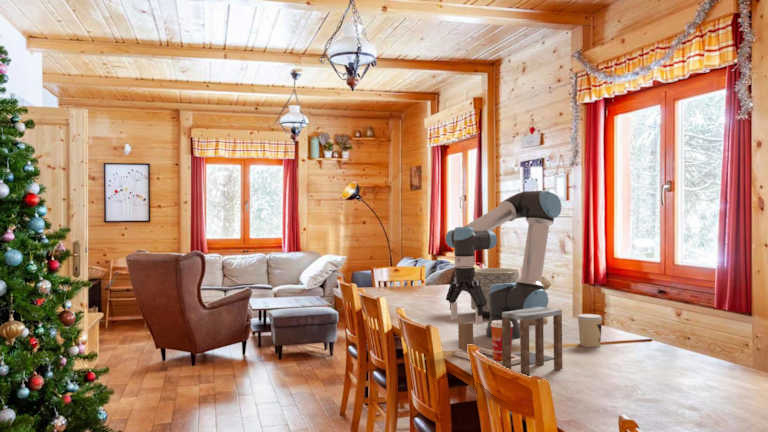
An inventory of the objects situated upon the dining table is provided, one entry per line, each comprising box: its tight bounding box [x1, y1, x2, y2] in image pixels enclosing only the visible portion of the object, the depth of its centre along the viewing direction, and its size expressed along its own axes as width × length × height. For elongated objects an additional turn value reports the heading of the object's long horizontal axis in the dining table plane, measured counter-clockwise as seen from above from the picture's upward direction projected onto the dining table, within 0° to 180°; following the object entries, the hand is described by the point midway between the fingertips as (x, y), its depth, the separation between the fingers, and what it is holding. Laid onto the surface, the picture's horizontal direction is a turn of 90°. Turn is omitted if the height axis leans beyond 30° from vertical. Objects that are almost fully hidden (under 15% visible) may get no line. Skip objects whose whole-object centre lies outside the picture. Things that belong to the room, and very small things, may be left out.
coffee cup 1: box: [490, 320, 513, 362], centre depth 215 cm, size 8×8×15 cm
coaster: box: [513, 351, 554, 366], centre depth 222 cm, size 13×13×1 cm
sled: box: [452, 321, 521, 366], centre depth 222 cm, size 25×12×12 cm, turn 36°
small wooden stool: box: [502, 307, 563, 376], centre depth 204 cm, size 10×19×20 cm, turn 126°
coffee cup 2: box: [577, 313, 603, 348], centre depth 242 cm, size 9×9×12 cm
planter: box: [470, 267, 520, 318], centre depth 314 cm, size 25×25×24 cm
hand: (466, 321), depth 231 cm, fingers open, 13 cm apart
